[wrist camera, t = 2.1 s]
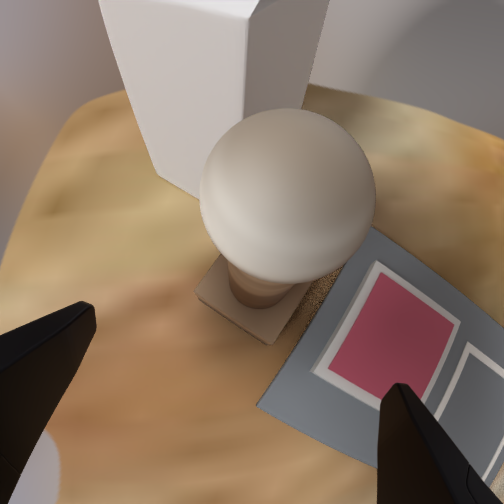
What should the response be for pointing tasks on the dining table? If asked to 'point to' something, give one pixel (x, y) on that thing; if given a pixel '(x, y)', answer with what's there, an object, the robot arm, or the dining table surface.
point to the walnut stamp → (280, 214)
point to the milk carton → (208, 69)
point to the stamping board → (394, 359)
